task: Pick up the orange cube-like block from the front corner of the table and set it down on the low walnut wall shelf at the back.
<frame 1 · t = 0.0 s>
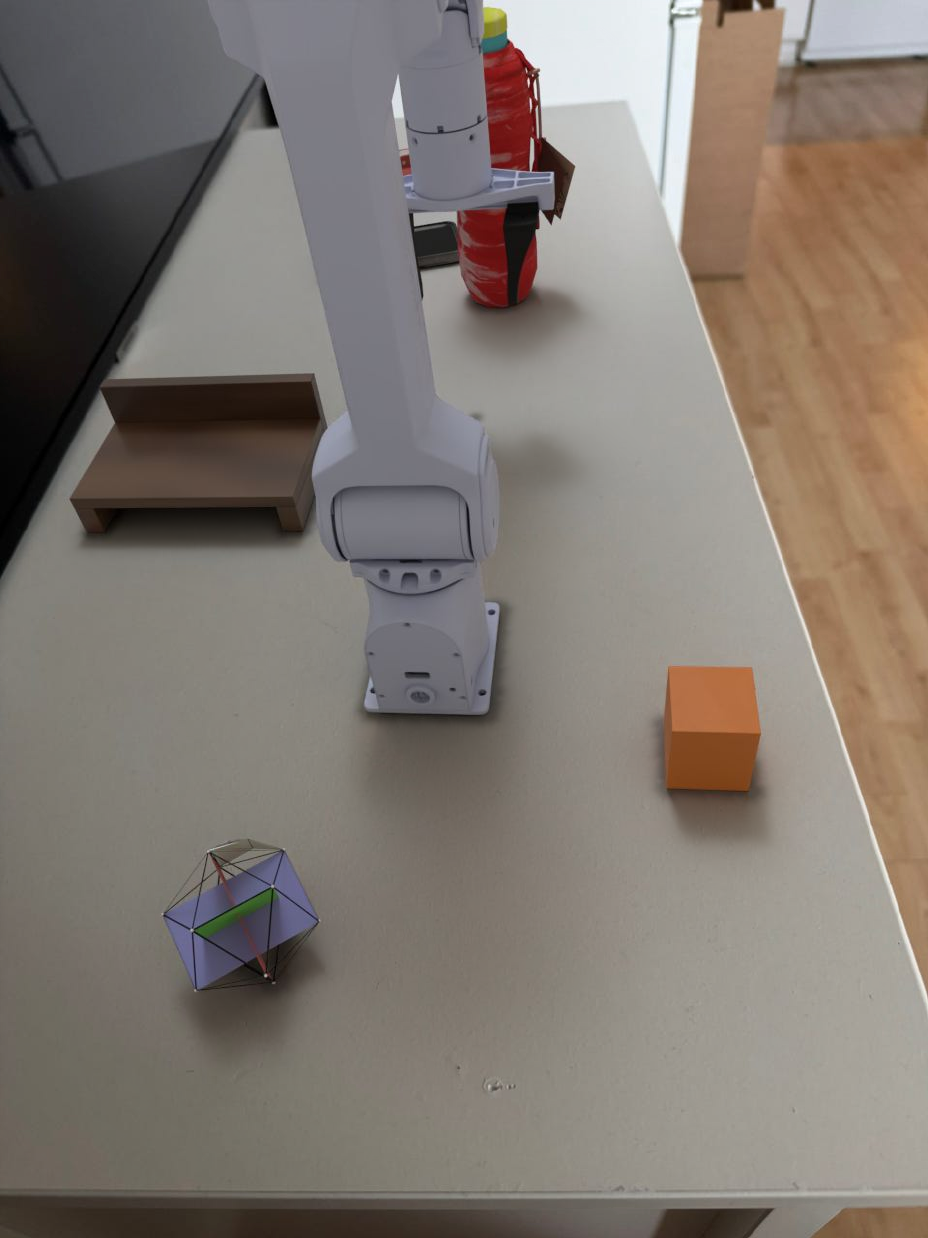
hand: (465, 300, 75), 10 cm above the table, tool pointing down, fingers open, 7 cm apart
orange cube-like block: (704, 756, 56), on the table
geometric puzzle: (258, 947, 51), on the table
water bottle: (515, 294, 96), on the table
shelf: (210, 491, 78), on the table
phone: (393, 257, 104), on the table
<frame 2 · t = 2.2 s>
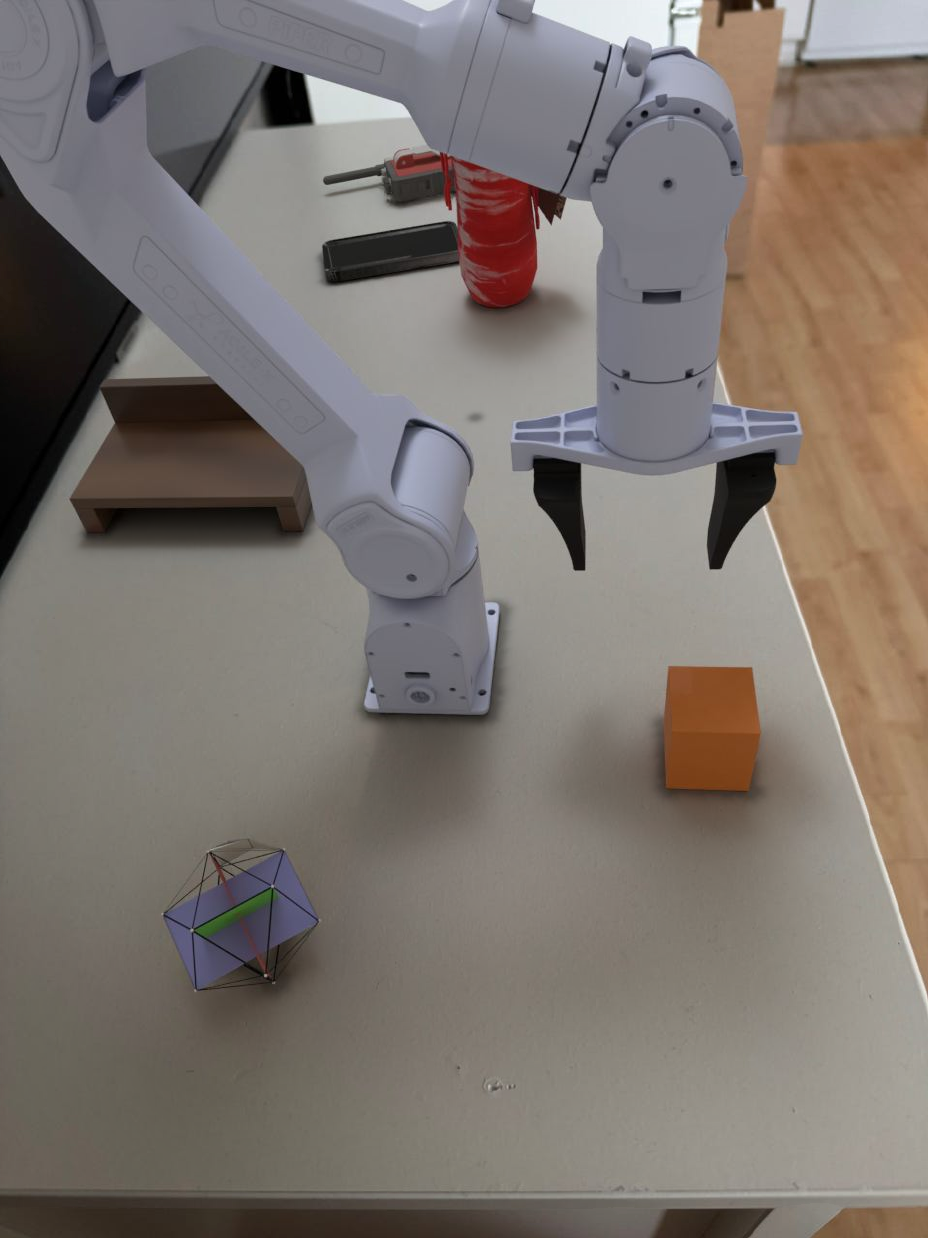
hand: (646, 558, 55), 9 cm above the table, tool pointing down, fingers open, 7 cm apart
nothing on the table moved.
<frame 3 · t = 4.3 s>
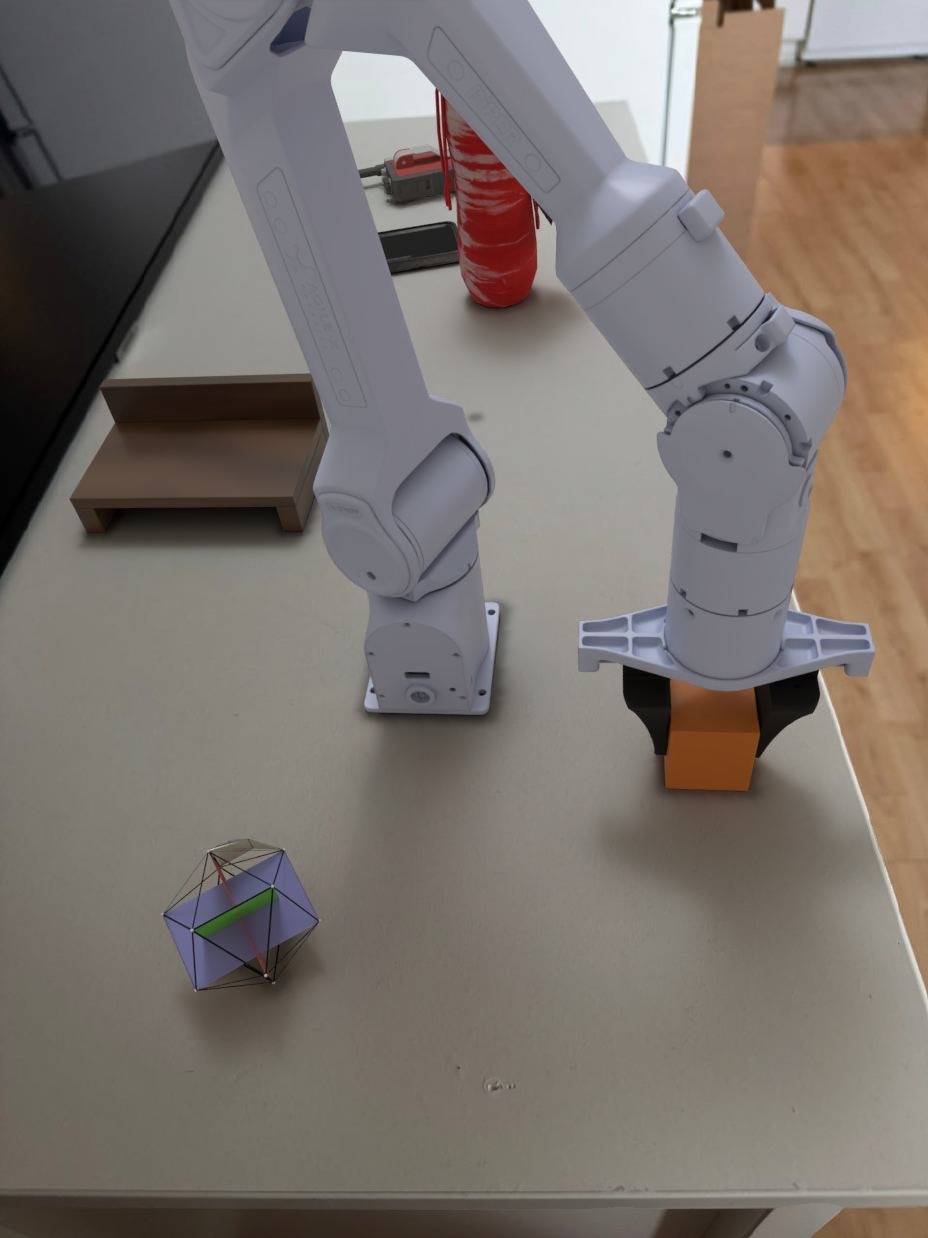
hand: (706, 742, 55), 1 cm above the table, tool pointing down, fingers closed on orange cube-like block, 4 cm apart
orange cube-like block: (703, 756, 56), on the table, touching gripper
everything else where it was.
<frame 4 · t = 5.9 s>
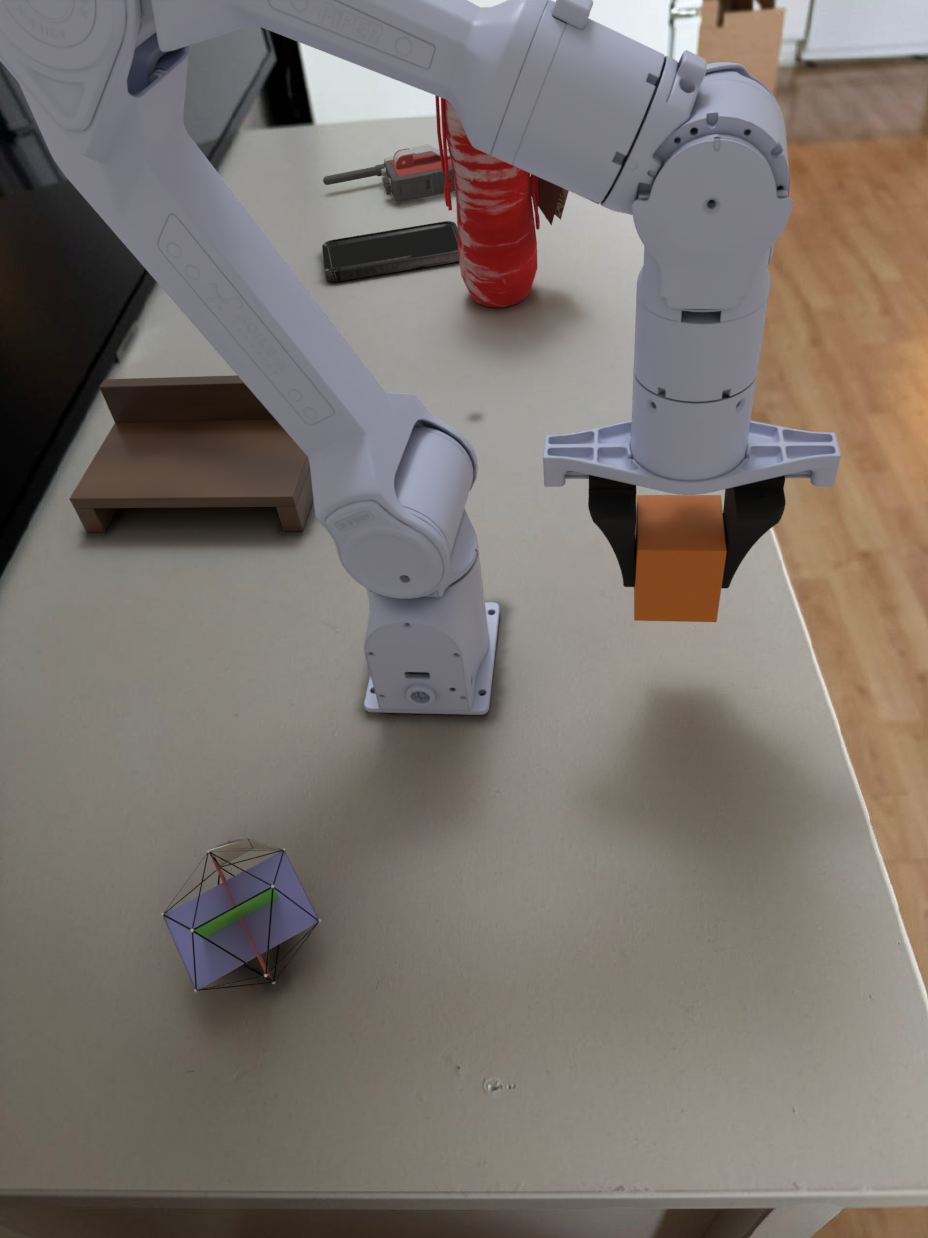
hand: (675, 575, 55), 8 cm above the table, tool pointing down, fingers closed on orange cube-like block, 4 cm apart
orange cube-like block: (673, 593, 56), point 7 cm above the table, touching gripper
everything else where it was.
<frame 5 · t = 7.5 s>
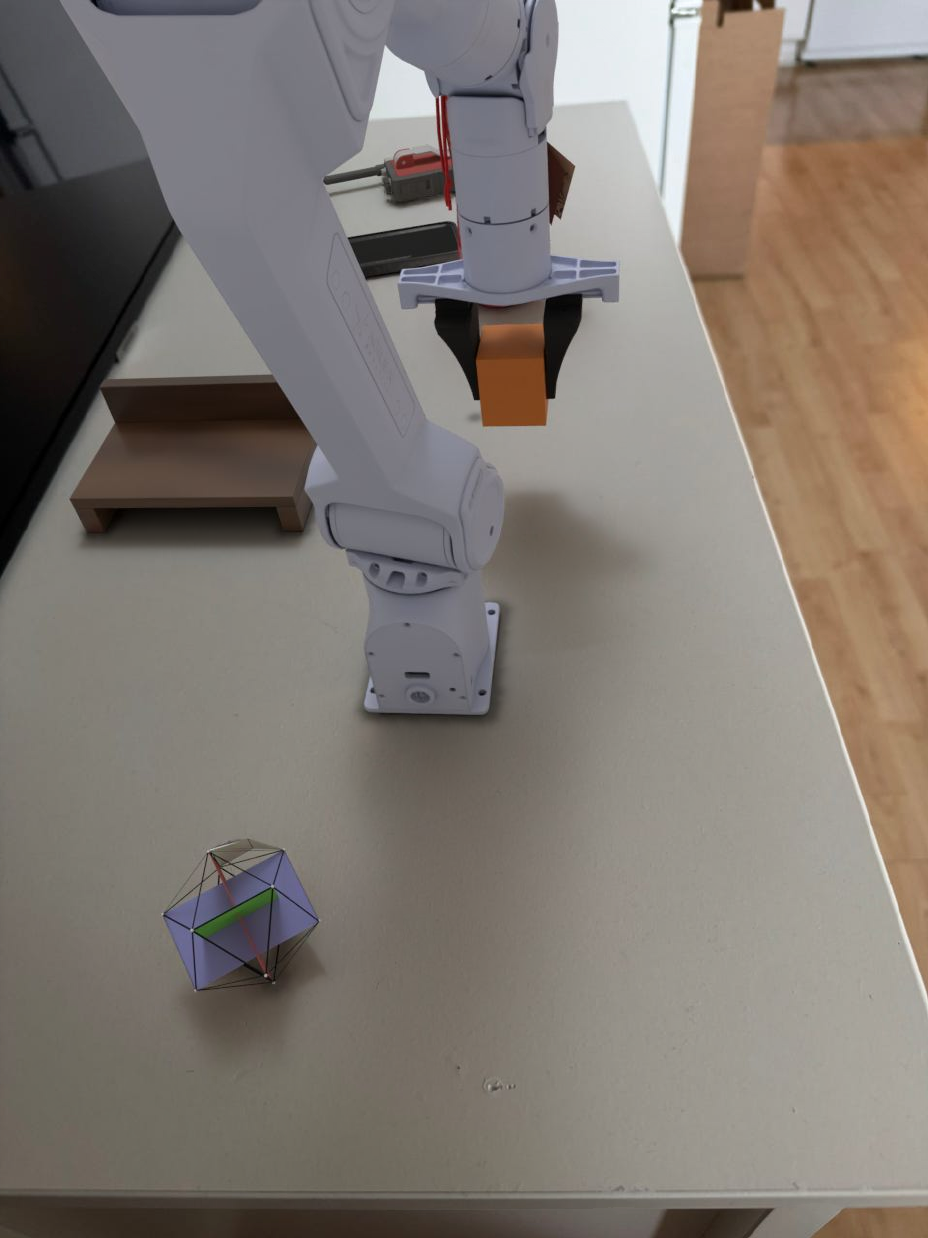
hand: (515, 391, 69), 8 cm above the table, tool pointing down, fingers closed on orange cube-like block, 4 cm apart
orange cube-like block: (516, 407, 70), point 7 cm above the table, touching gripper
everything else where it was.
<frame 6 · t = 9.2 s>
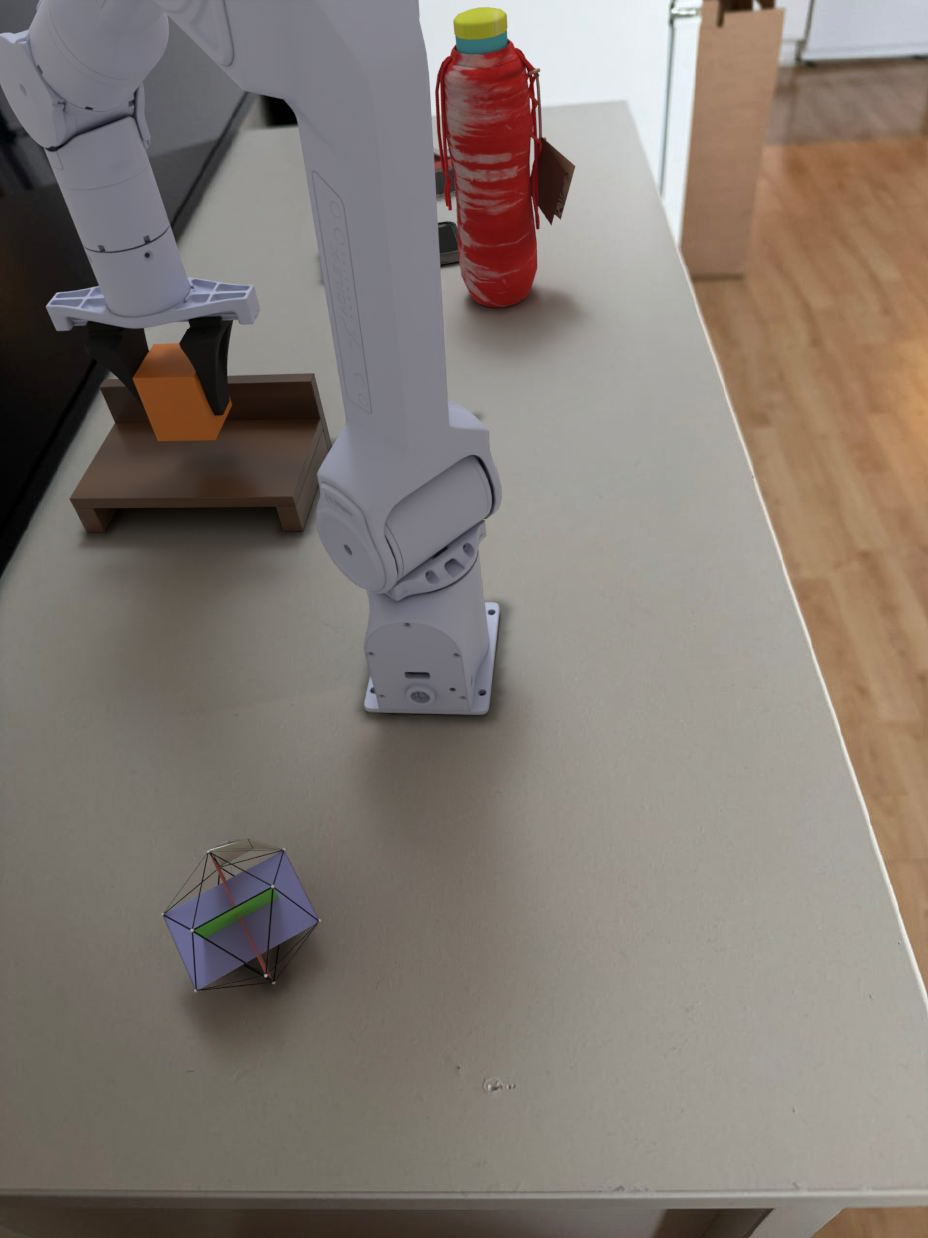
hand: (190, 408, 72), 8 cm above the table, tool pointing down, fingers closed on orange cube-like block, 4 cm apart
orange cube-like block: (195, 422, 73), point 7 cm above the table, touching gripper
everything else where it was.
when the fingers open (5 cm above the table, at t = 10.7 s): orange cube-like block stays where it is, resting on shelf.
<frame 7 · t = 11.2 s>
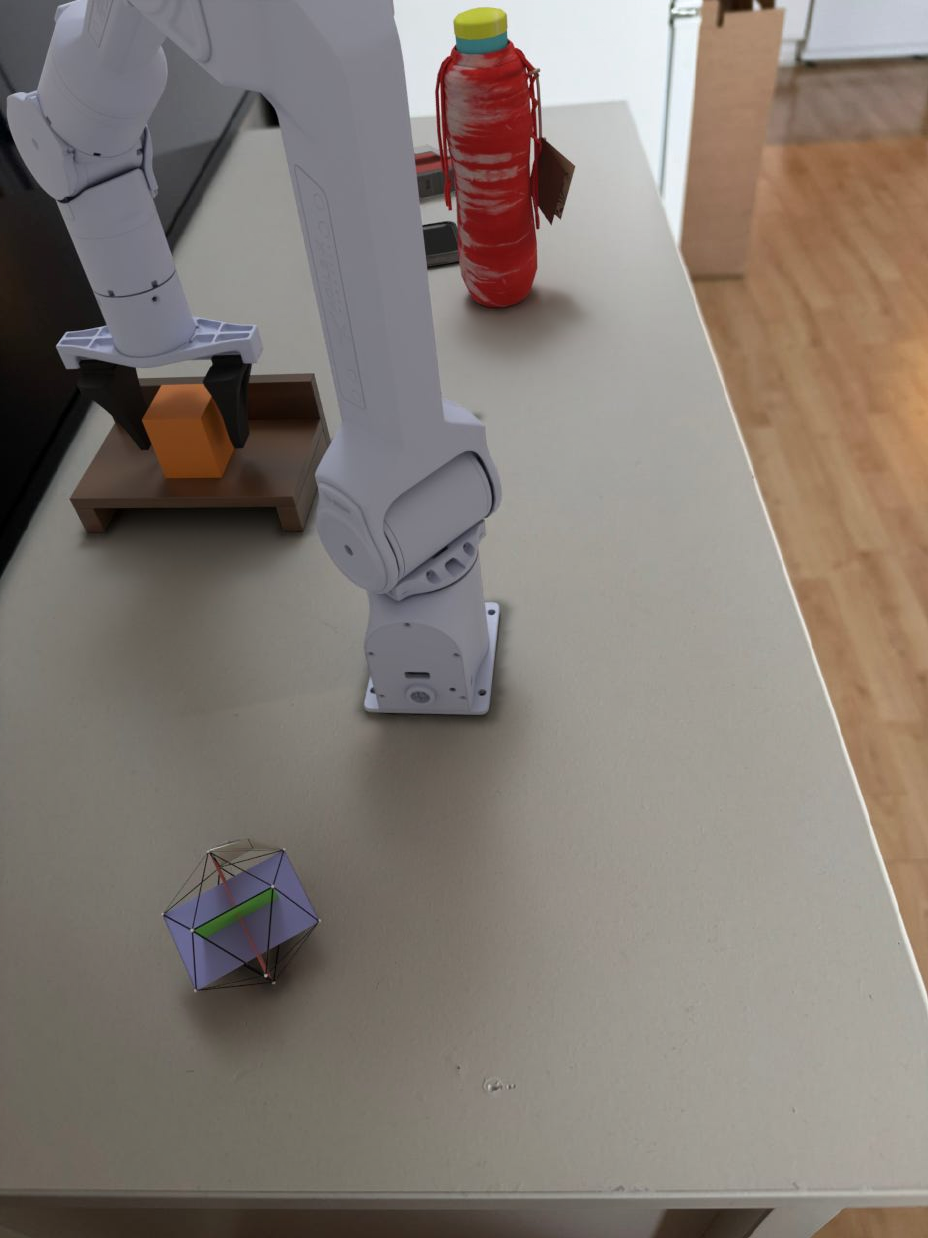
hand: (195, 441, 74), 5 cm above the table, tool pointing down, fingers open, 7 cm apart
orange cube-like block: (202, 460, 75), point 3 cm above the table, touching shelf
everything else where it was.
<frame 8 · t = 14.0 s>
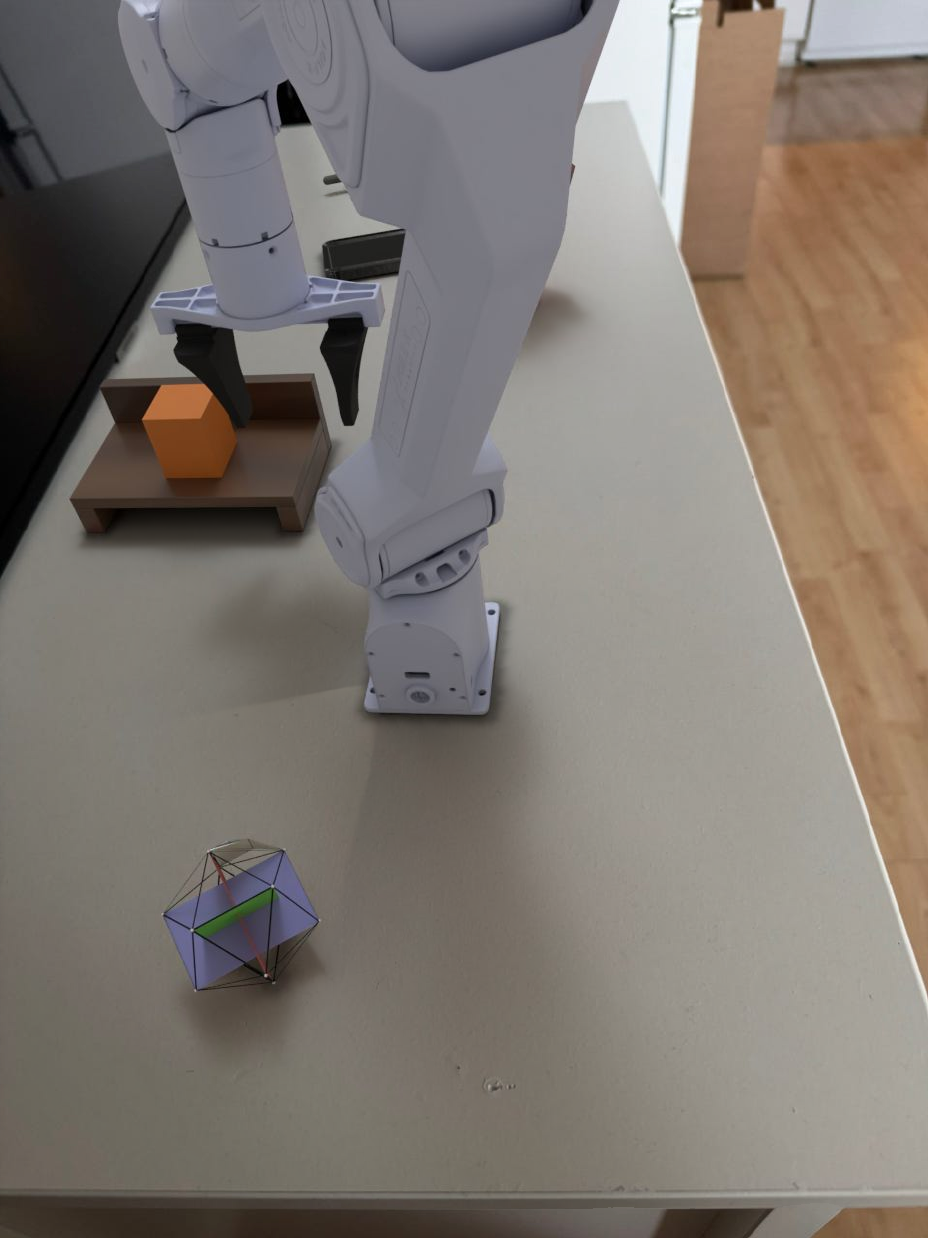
hand: (297, 418, 66), 10 cm above the table, tool pointing down, fingers open, 7 cm apart
nothing on the table moved.
at the end: orange cube-like block inside the target area on the shelf (0.5 cm from its centre), point 3.5 cm above the shelf's base; orange cube-like block tilted 0°; the gripper is holding nothing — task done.
